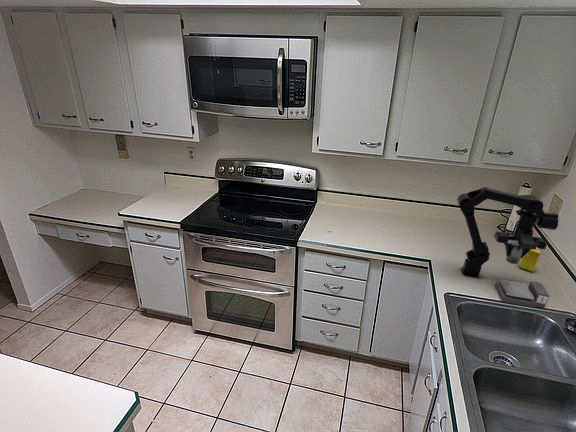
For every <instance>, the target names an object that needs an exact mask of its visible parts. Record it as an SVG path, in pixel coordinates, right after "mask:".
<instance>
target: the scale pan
mask: <svg viewBox="0 0 576 432" xmlns="http://www.w3.org/2000/svg"><path fill="white" fill-rule="evenodd" d="M499 282H500V283H501V285H502V287H503V289H504V291H505V293H506V295H511V296H516V297H522V298H527V299H533V300H534V296H533V294H532V293H531V291H530V289H529V288H528V286H529V285H527V283H526V282H525V283H524V282H519V281H512V280H508V279H507V280H506V279H500V280H499Z"/></svg>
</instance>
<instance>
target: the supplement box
mask: <svg viewBox="0 0 576 432" xmlns="http://www.w3.org/2000/svg"><path fill="white" fill-rule="evenodd" d="M536 248H537V247H536ZM542 250H543V249H539V248H537V249H533V250H530V251H529V252H527V253H526V254H525V255H524V256H523V257H522V258H521V259H520V262H519V263H520V264H519V265H518V269H520V270H522V271H525V272H529V273H534V270H535V268H536V265H537V263H538V260H539V257H540V255H541V252H542Z"/></svg>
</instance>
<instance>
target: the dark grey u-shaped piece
mask: <svg viewBox="0 0 576 432" xmlns="http://www.w3.org/2000/svg"><path fill="white" fill-rule="evenodd" d="M527 286H528V288H529V289H530V291H531V293H532V294H533V296H534V300H533V299H527V298H522V297H516V296H511V295H506V293H505V291H504V289H503V287H502V285H501V283H500V281H495V284H494V287H495V289H496V292H497V293H498V296H499V298H500V300H501V302H502V303H507V304H512V305H517V306H521V307H528V308H533V309H535V308H536V307H539V308H545V307H546V304H547V302H548V300H549V298H550V294H549V292H548V291H547V290H546V288H545V286H544V285H543V284H542V282H538V281H532V280H530V282H529V284H528V285H527Z"/></svg>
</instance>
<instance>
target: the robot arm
mask: <svg viewBox="0 0 576 432" xmlns="http://www.w3.org/2000/svg"><path fill="white" fill-rule="evenodd" d="M486 200H490V201H491V200H492V201H496V202H500V203H503V204H508V205H512V206H516V207H518V208H519V209H518V210H517V209H516V210H515V214H517V216H519V218H518V221H517V223H516V224H515V229H514V231H513V232H512V236H511V235H508V233H507V232H503V231H495V233H494V235H493V237H494V239H495V241H496V242H498V243H501V244H504V249H505V256H506V257H507V256H508V255H509V252H510V248H511V246H513V245H512V244H511V243H513V242H515V243H518V244H519V247H520V248H524V250H523V253H522V255H521V258H520V260H522V257H523V256H524V255H525V254H526V253H527V252H529V251H530V250H533V249H537V248H539V249H542V250H546V248H547V245H548V243H547V242H546V241H545V240H544V238H543V237H538V236H534V235H533V233H534V229H533V228H534V226H536V227H537V228H539V229H544V230H551V231H555V230H557V228H558V227H559V217H560V216H559V214H558V213H556V212H555V213H552V212H551V213H550V212H545V211H544V209H543V208H544V203H543V201H541V199H539V198H538V196H536V195H533V194H531V195H530V194H513V193H511V192H506V191H502V190H497V189H493V188H489V187H486V186H483V187H481V188H479V189H474V190H472V191H468V192H467V193H462V194H459V195H458V197H457V198H456V201H457V205H458V207H459V208H460V211H461V212H462V214H463V216H464V218H465V219H464V220H465V221H466V226H467V228H468V232H469V236H470V239H471V249H470V250H468V251H466V252H465V256H466V258H464V263H463V265H462V267H460V268H461V273H462V275H464V276H466V277H471V278H472V277H473V278H479V275H480V273H481V272H482V271H481V270H482V266H483V265H484V264H485V263H487V262H488V261H489V260H490V257H491V253H490V250H489V245H488V244H487V242H486V241H482V239H481V238H482V237H481V235H480V232H479V227H478V223H477V220H476V216H475V207H477V206H478V205H480V204H482V203H483V202H484V201H486ZM536 247H537V248H536Z"/></svg>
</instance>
